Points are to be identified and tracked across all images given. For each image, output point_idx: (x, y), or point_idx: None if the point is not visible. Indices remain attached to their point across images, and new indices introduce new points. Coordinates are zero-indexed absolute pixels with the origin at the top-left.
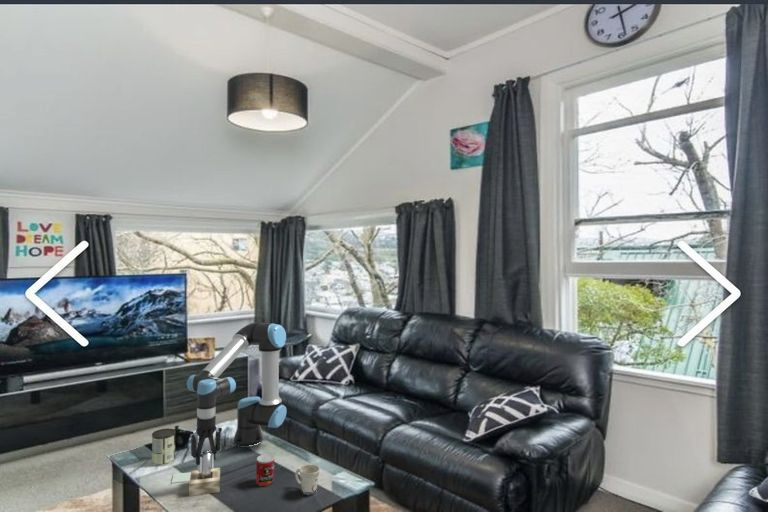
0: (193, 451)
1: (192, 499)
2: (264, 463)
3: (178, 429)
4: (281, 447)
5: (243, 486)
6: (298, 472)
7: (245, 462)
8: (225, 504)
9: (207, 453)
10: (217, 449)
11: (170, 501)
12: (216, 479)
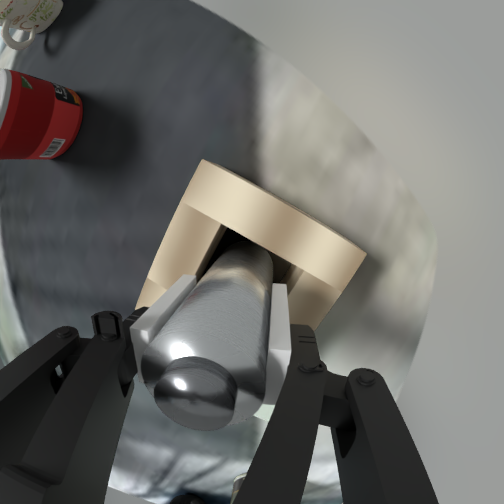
0: (407, 428)
1: (352, 196)
2: (9, 70)
3: None
4: None
5: (119, 141)
6: (9, 35)
7: (55, 320)
8: (258, 49)
9: (191, 358)
10: (73, 339)
11: (419, 256)
12: (212, 183)
